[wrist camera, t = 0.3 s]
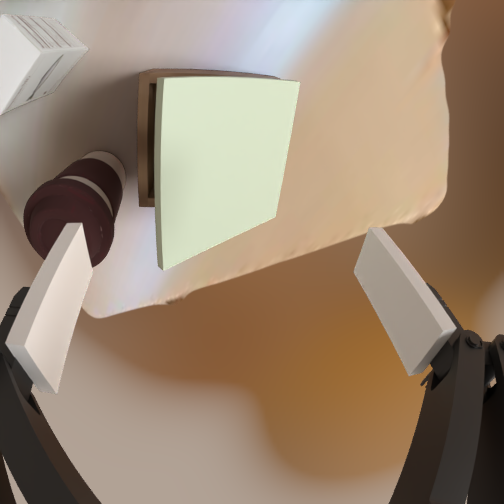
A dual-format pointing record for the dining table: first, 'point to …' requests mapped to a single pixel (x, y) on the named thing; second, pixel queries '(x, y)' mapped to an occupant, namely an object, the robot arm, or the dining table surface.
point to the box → (147, 122)
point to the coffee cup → (78, 205)
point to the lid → (217, 158)
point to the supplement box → (34, 58)
